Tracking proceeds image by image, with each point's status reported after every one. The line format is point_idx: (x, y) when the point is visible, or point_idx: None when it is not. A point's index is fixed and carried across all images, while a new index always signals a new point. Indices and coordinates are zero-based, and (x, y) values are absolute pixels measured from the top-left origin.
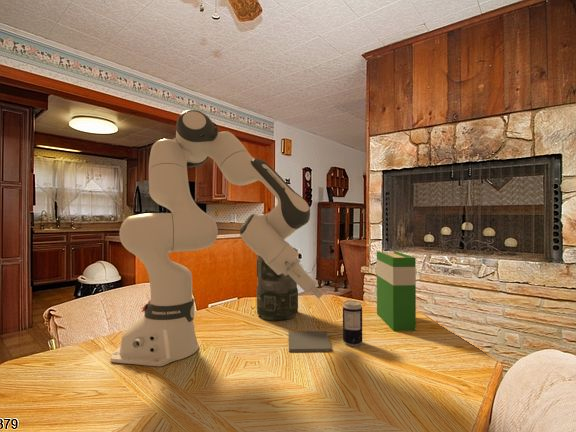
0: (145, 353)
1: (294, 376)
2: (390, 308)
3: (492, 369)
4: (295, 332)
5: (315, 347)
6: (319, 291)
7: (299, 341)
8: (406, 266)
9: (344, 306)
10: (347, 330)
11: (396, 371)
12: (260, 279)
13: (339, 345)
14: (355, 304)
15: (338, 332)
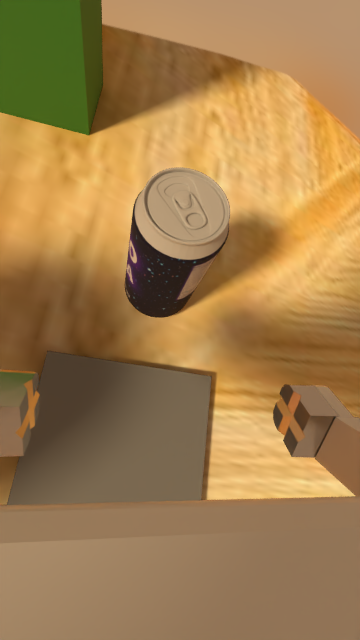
0: None
1: None
2: (50, 56)
3: (313, 99)
4: (24, 496)
5: (196, 433)
6: (342, 411)
7: (132, 490)
8: None
9: (191, 254)
10: (188, 295)
11: (322, 260)
12: None
13: (167, 338)
14: (206, 200)
15: (51, 301)
